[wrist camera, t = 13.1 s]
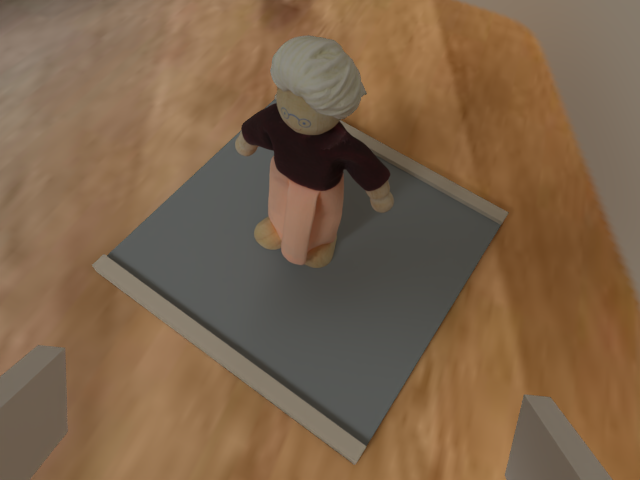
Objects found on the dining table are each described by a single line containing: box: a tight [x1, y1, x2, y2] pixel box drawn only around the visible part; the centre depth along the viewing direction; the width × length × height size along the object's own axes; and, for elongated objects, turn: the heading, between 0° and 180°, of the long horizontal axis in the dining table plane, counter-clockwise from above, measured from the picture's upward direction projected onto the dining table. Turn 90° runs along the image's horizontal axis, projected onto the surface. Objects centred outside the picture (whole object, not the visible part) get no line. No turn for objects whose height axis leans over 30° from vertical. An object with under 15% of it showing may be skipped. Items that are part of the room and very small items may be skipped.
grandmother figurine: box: [235, 36, 394, 268], centre depth 22 cm, size 8×4×13 cm, turn 75°
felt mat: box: [92, 94, 509, 465], centre depth 28 cm, size 16×16×1 cm
